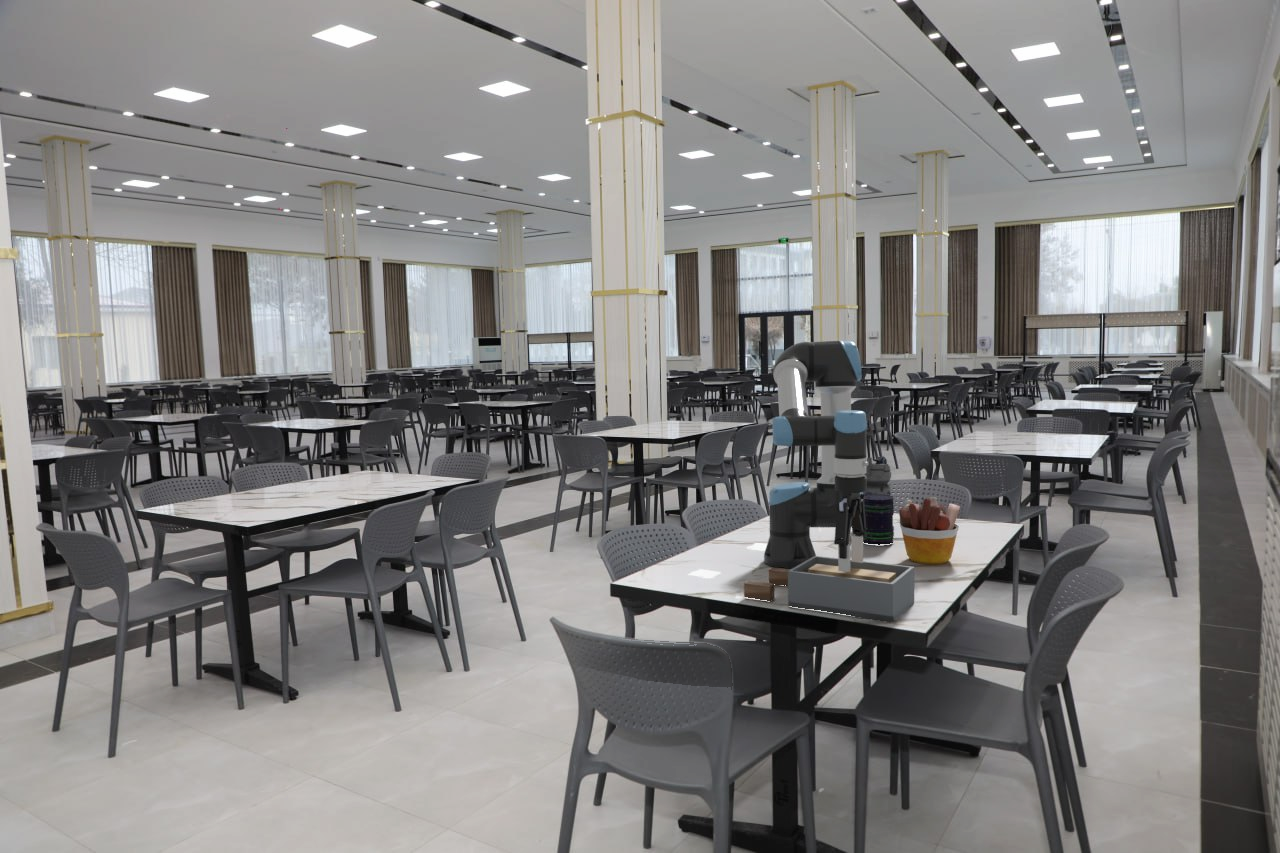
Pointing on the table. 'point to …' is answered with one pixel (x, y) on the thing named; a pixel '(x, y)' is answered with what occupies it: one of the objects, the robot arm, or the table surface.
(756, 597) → the wooden blocks
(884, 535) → the storage jar
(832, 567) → the shelf board
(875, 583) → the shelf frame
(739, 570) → the table surface
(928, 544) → the bucket of meat
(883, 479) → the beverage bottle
